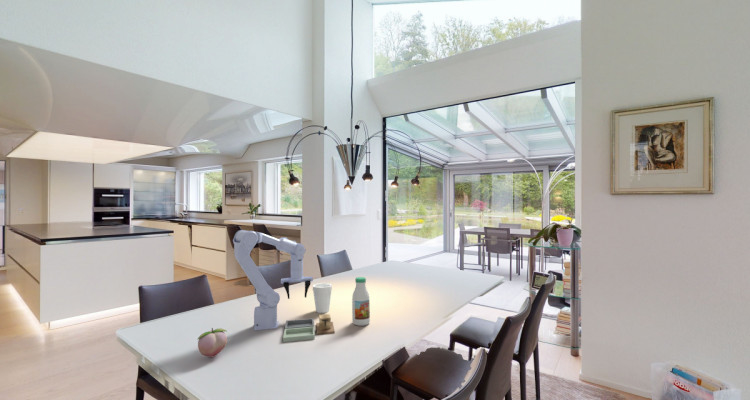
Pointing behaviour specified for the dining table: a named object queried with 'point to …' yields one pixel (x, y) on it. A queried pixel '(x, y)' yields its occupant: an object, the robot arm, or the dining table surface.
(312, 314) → the dining table surface
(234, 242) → the robot arm
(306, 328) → the sage tray
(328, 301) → the foam cup
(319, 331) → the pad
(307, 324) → the gray tray
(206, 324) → the dining table surface
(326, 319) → the letter cube
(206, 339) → the decorative fruit
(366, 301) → the milk bottle
